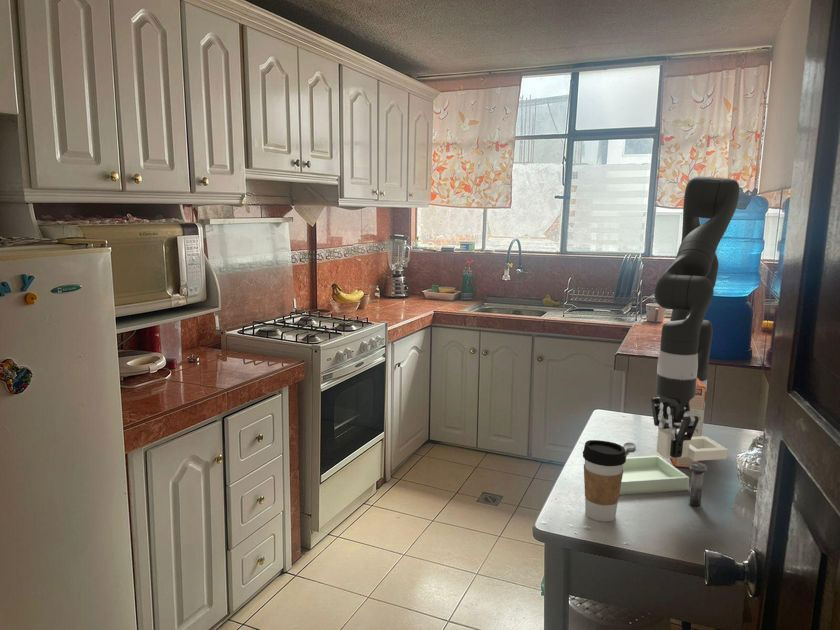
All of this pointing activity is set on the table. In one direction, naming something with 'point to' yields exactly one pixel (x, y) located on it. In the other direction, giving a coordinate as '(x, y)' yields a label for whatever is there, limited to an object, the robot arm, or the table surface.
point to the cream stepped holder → (691, 447)
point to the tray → (651, 476)
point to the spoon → (629, 446)
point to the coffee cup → (602, 478)
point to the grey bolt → (696, 483)
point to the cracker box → (698, 410)
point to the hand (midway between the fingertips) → (670, 452)
